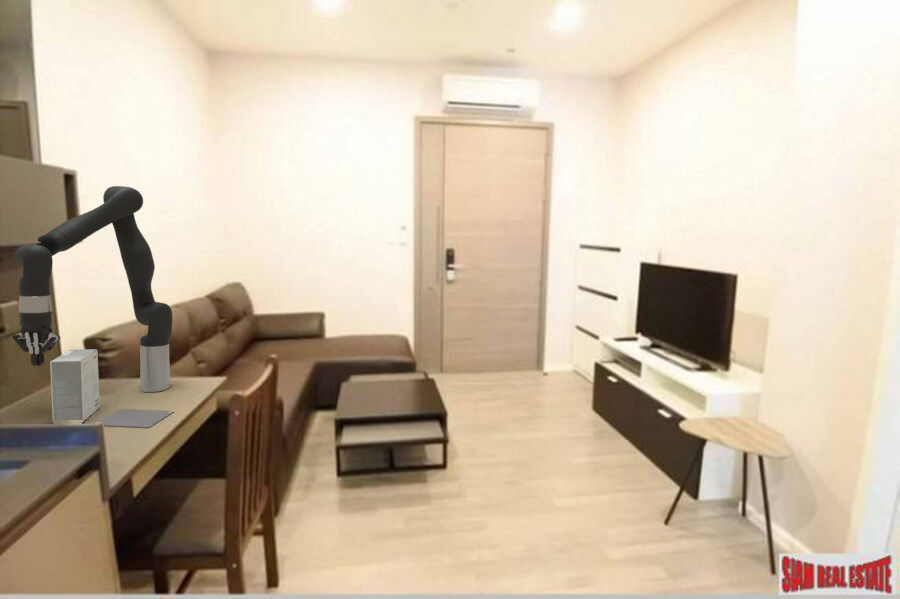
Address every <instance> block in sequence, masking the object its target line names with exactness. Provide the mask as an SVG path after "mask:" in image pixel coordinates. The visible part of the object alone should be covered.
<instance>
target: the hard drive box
mask: <svg viewBox="0 0 900 599" xmlns="http://www.w3.org/2000/svg"><path fill="white" fill-rule="evenodd" d="M98 356H99V355H98V349H95V348H93V349H92V348H90V349H89V348H88V349H87V348H85V349H69V350H67V351H66V352H64V353H62V354H61V355H59V356H58V357H56V358H54V359H53V360H51V361H50V362H49V370H50V388H51V389H50V393H51V412H52V413H51V417H52V421H53V420H84V419H85V418H87V417H89V416H90V415H91V416H92V415H93V414H94V413H96V411H98V410H99V408H100V404H101V402H100V401H101V400H100V399H101V398H100V381H99V380H100V379H99V377H100V376H99V360H98V358H99V357H98ZM91 416H90V417H91ZM90 417H89V418H90Z"/></svg>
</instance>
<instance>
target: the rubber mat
mask: <svg viewBox="0 0 900 599" xmlns="http://www.w3.org/2000/svg"><path fill="white" fill-rule="evenodd" d="M169 411H170V410H162V409H161V410H160V409H159V410H157V409H137V408H136V409H135V408H134V409H133V408H132V409H131V408H120V409H118V410H116V411H114V412H112V413H110V414H108V415H107V416H105V417H103V418H101V419H99V420H96V422H103V424H104V426H103V427H106V426H108V427H110V428H114V427H115V428H134V429H137V428H138V429H139V428H140V429H150V428H152V427H153V426H155V425H157V424H159V423H160V422H161V421H163V420H164V419H166V418H167V417H168V416H167V415H169V414H170V413H168V412H169ZM170 415H171V414H170ZM170 415H169V416H170ZM166 416H167V417H166ZM165 417H166V418H165ZM163 418H164V419H163ZM162 419H163V420H162ZM159 421H160V422H159ZM156 423H157V424H156Z"/></svg>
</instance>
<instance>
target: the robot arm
mask: <svg viewBox="0 0 900 599" xmlns="http://www.w3.org/2000/svg"><path fill="white" fill-rule="evenodd" d="M102 200H103V203H102V204H100V205H99V206H97V207H95V208H93V209H92V210H89V211H86V212H85V213H82V214H79V215H77V216H74V217H71V218H70V219H68V220H66V221H65V222H62V223H60V224H59V225H58V226H56V227H54V228H53V229H51V230H50V231H48V232H46V233H45V234H42V235H40V236H38V237H39V238H38V237H37V238H38V241H39V242H41V243H37V244H31V245H24V244H22V245H21V246H19V247H18V248H17V249H16V251H15V253H14V258H15V260H16V262H17V263H18V264H20V265H21V266H22V277H20V279H19V283H18V287H19V288H18V290H19V291H18V292H19V297H18V298H19V300H18V314H19V315H18V317H19V319H18V320H19V326H20V329H19V333H17V334H14V335H12V339H13V341H14V342H15V343H16V344H17V345H18V346H19V347H20V348H21V350H22V351H23V353H24V352H27V353H29V354H30V363H31V366H34V367H35V366H36V367H39V366H42V365H43V364H44V363H45V353H46V352H50V351H52V350H53V348H54V347H55V346H56V344H57V343H58V342H60V339H61V336H60V335H56V334H54V333H53V329H52V327H51V326H52V324H53V307H52V299H51V284H50V283H51V282H50V279H51V276H52V275H51V274H52V270H53V256H55V255H57V254H58V253H61V252H62V253H63V252H66V251H67V250H70V249H71V248H73V247H75V246H76V245H78V244H80V243H81V242H82V241H84V240H86V239H87V238H89V237H90V236H92V235H94V234H95V233H97V232H99V231H100V230H102V229H104V228H105V227H107V226H109V225H110V224H112V227H113V230H114V233H115V237H116V242H117V244H118V249H119V252H120V253H119V254H120V256H121V260H122V261H121V262H122V264H123V267H124V270H125V273H126V277H127V282H128V285H129V290H130V292H131V299H132V307H133V312H134V317H135V320H137V322H138V323H139V324H141V325H143V326H147V334H145V335H142V336H141V337H140V340H139V347H140V348H139V350H140V351H139V352H140V353H139V356H140V361H139V362H140V363H139V364H140V368H139V369H140V371H139V372H140V376H139V377H140V378H139V379H140V383H139V384H140V386H139V387H140V391H141V392H144V393H157V392H162V391H166V390H168V389H169V388H170V386H171V382H170V381H171V380H170V378H171V377H170V376H171V375H170V373H171V372H170V371H171V370H170V369H171V364H170V363H171V362H170V339H171V336H172V334H173V332H172V331H173V310H172V308H171V306H170V305H169V304H167V303H164V302H161V301H160V302H159V301H156V300H155V297H154V294H153V289H152V281H153V277H154V274H155V261H154V257H153V254H152V253H153V252H152V250H151V247H150V245H149V243H148V242H147V240H146V239H145V236H144V235H143V233H142V232H141V231H140V229H139V227H138V224H137V222H136V218H135V213H136V212H138V211H140V210H141V209H142V207H143V204H144V197H143V195H142V194H141V192H140V191H139V190H137V189H136V188H133V187H131V186H126V185H125V186H123V185H118V186H117V185H114V186H109V187H107V188H106V190H104V193H103V199H102Z"/></svg>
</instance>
